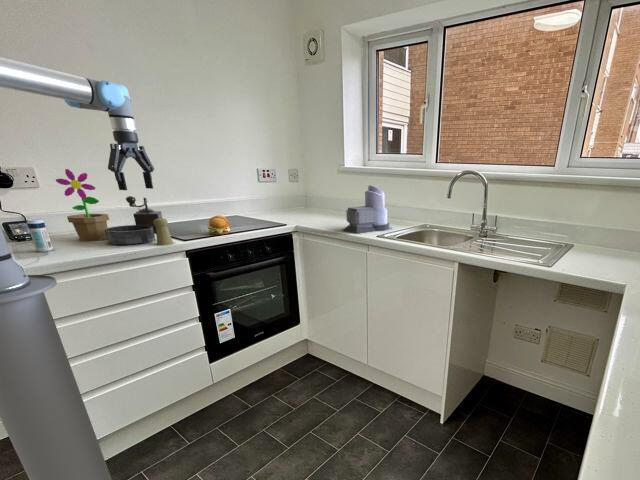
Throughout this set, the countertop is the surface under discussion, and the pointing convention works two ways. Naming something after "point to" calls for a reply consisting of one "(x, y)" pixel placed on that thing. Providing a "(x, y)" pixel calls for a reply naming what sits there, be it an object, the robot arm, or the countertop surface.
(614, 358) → the countertop surface
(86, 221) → the flowerpot
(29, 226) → the white cylindrical container
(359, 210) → the juicer
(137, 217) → the brown coffee grinder
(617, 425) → the countertop surface
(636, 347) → the countertop surface
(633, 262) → the countertop surface
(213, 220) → the cheeseburger
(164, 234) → the cork
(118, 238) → the dark grey shallow bowl
